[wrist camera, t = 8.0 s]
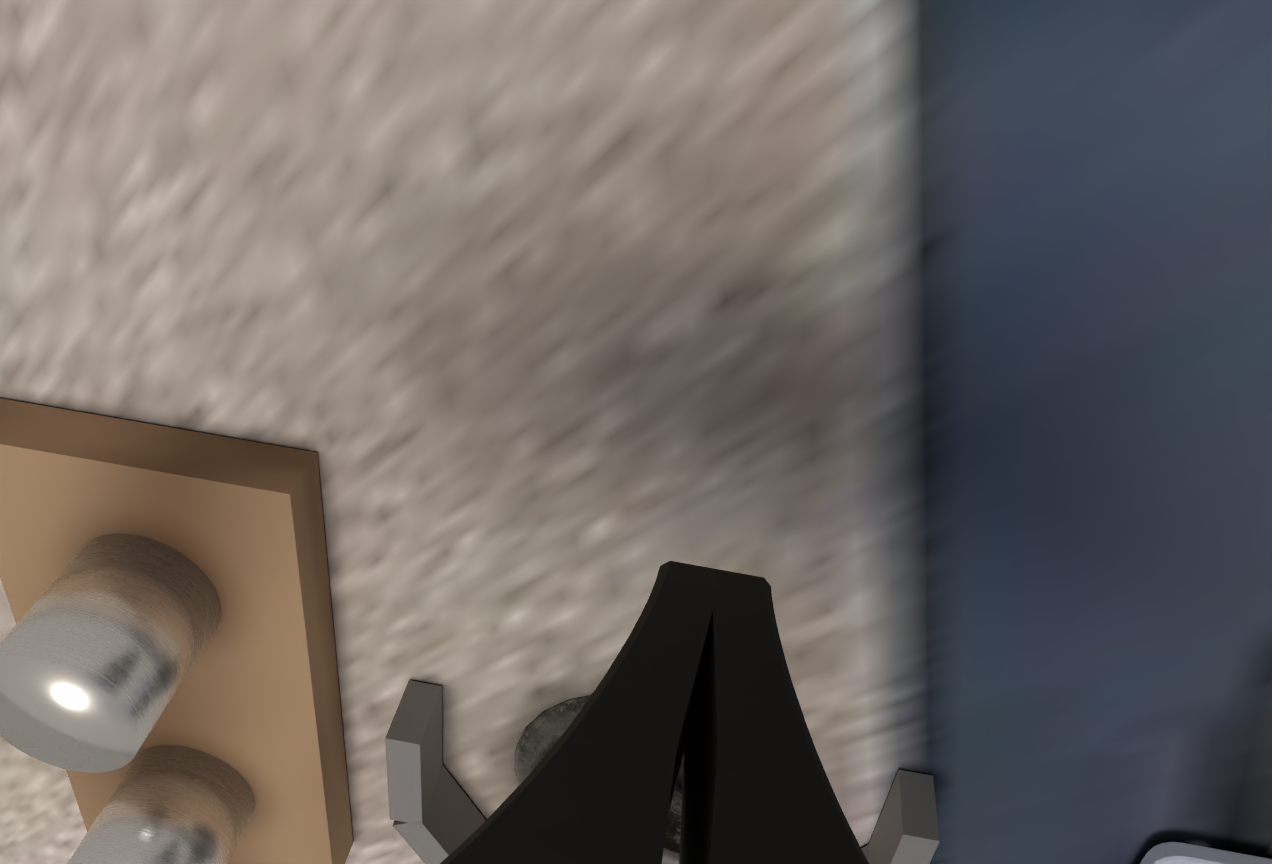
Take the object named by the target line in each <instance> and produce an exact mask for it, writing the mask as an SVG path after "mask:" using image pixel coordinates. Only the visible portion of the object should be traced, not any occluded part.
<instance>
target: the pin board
mask: <svg viewBox="0 0 1272 864" xmlns="http://www.w3.org/2000/svg"><path fill="white" fill-rule="evenodd" d="M0 578H1V581H2V584H3V587H4V590H5V592H6V595H7V598H8V601H9V604H10V607H11V610H12V613H13V616H14V619H15V622H16V626H15V627H14V628H13V629H12V630H11V632H10V633H9V634H8V635H7V636H6V637H5V639H4V640H3V641H2V642H1V643H0V736H1V737H2V738H3V739H4V740H6V741H7V742H9V743H10V744H11V745H13V746H14V747H16V748H17V749H19V750H21V751H22V752H24V753H26V754H28V755H30V756H32V757H34V758H36V759H38V760H40V761H43V762H45V763H48V764H51V765H53V766H57V767H60V768H63V769H66V771H67V774H68V777H69V780H70V782H71V785H72V788H73V791H74V794H75V797H76V800H77V803H78V806H79V809H80V812H81V815H82V818H83V820H84V823H85V826H86V829H87V834H86V835H85V837H84V839H83V840H82V842H81V843H80V845H79V846H78V848H77V850H76V851H75V853H74V854H73V856H72V857H71V859H70V861H69V862H68V864H345V862H346V859H347V857H348V854H349V852H350V849H351V847H352V844H353V835H352V825H351V814H350V803H349V792H348V781H347V770H346V760H345V749H344V738H343V727H342V716H341V705H340V694H339V684H338V673H337V662H336V651H335V640H334V629H333V619H332V608H331V597H330V586H329V575H328V564H327V554H326V543H325V532H324V521H323V510H322V499H321V488H320V478H319V467H318V456H317V453H316V452H311V451H305V450H299V449H293V448H287V447H281V446H276V445H270V444H264V443H258V442H252V441H246V440H241V439H235V438H229V437H223V436H217V435H211V434H206V433H200V432H194V431H188V430H182V429H176V428H171V427H165V426H159V425H153V424H147V423H141V422H136V421H130V420H124V419H118V418H112V417H106V416H101V415H95V414H89V413H83V412H77V411H71V410H66V409H60V408H54V407H48V406H42V405H36V404H31V403H25V402H19V401H13V400H7V399H1V398H0Z"/></svg>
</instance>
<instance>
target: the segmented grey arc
mask: <svg viewBox="0 0 1272 864" xmlns="http://www.w3.org/2000/svg"><path fill="white" fill-rule="evenodd" d="M385 741H386V759H387V776H388V794H389V812H390V819H391V820H395V821H394V823H393V826H394V828H395V829H396V830H397V831H398V832H399V833H400V835H401V836H402V837H403V838H404V839H405V840H406V842H407V843H408V844H409V845H410V846H411V847H412V849H413V850H414V851H415V852H416V853H417V855H418V856H419V857H420V858H421V859H422V860H423V862H424V863H425V864H440V863H441V862H442V861H443V860H444V859H445V858H447V857H448V856H449V855H450V854H451V853H452V852H453V851H454V850H455V849H456V848H458V847H459V846H460V845H461V844H462V843H463V842H464V841H465V840H466V839H468V838H469V837H470V836H471V835H472V834H473V833H474V832H475V831H476V830H477V829H478V828H479V827H480V826H481V825H482V824H483V823H484V822H485V821H486V820H485V818H484V817H483V816H482V815H481V813H480V812H479V811H478V809H477V808H476V807H475V806H474V804H473V803H472V802H471V800H470V799H469V798H468V797H467V795H466V794H465V793H464V791H463V790H462V789H461V788H460V786H459V785H458V784H457V783H456V781H455V780H454V779H453V777H452V776H451V775H450V774H449V772H448V771H447V770H446V768H445V767H444V766H443V763H442V686H438V685H433V684H427V683H422V682H416V681H411V680H409V682H408V684H407V687H406V689H405V692H404V694H403V697H402V699H401V701H400V704H399V706H398V709H397V711H396V714H395V716H394V718H393V721H392V723H391V726H390V728H389V731H388V733H387V735H386V738H385ZM939 842H940V839H939V829H938V819H937V809H936V800H935V790H934V780H933V776H931V775H926V774H920V773H915V772H909V771H904V770H898V772H897V775H896V777H895V780H894V782H893V785H892V787H891V790H890V792H889V795H888V797H887V800H886V802H885V805H884V807H883V810H882V812H881V815H880V817H879V820H878V822H877V825H876V827H875V830H874V832H873V835H872V837H871V840H870V842H869V844H868V845H866V846H865V847H863V848H861V850H862V851H863V853H864V855H865V857H866V859H867V861H868V862H869V864H929V863H930V861H931V859H932V857H933V855H934V852H935V850H936V848H937V846H938V844H939Z"/></svg>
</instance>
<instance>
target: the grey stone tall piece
mask: <svg viewBox="0 0 1272 864" xmlns="http://www.w3.org/2000/svg"><path fill="white" fill-rule="evenodd" d="M589 698H590V696H586V697H581V698H576V699H571V700H567V701H565V702H563V703H561V704H559V705H556V706H554V707H552V708H550V709H548V710H546V711H544V712H542V713H541V714H540V715H539V716H538V717H537V718H536V719H535V720H533V721H532V722H531V723H530V724H529V725H528V726H527V727H526V728H525V730H524V732H523V734H522V736H521V738H520V740H519V742H518V744H517V747H516V752H515V773H516V776H517V778H518V781H519V784H521V783H522V782H523V781H524V780H525V779H526V778H527V776H528V775H529V774H530V773H531V772H532V771H533V770H534V768H535V767H536V766H537V765H538V764H539V763H540V761H541V760H542V759H543V758H544V757H545V756H546V754H547V753H548V752H549V751H550V749H551V748H552V747H553V746H554V745H555V743H556V742H557V741H558V740H559V738H560V737H561V736H562V735H563V733H564V732H565V731H566V729H567V728H568V727H569V726H570V724H571V723H572V722H573V720H574V719H575V717H576V716H577V715H578V713H579V712H580V710H581V709H582V708H583V706H584V705H585V703H586V702H587V701H588V699H589ZM683 765H684V753H683V757H682V761H681V765H680V770H679V774H678V778H677V782H676V786H675V790H674V794H673V798H672V802H671V806H670V811H669V815H668V819H667V826H666V834H665V842H664V850H663V858H662V864H679V854H680V831H681V808H682V786H683Z"/></svg>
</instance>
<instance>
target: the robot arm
mask: <svg viewBox="0 0 1272 864" xmlns="http://www.w3.org/2000/svg"><path fill="white" fill-rule="evenodd" d="M683 753H684V765H683V786H682V808H681V831H680V854H679V864H869V862H868V861H867V859H866V857H865V855H864V853H863V851H862V850H861V848H860V846H859V844H858V842H857V840H856V838H855V836H854V834H853V832H852V830H851V828H850V826H849V824H848V822H847V820H846V818H845V816H844V814H843V811H842V809H841V807H840V805H839V803H838V801H837V798H836V796H835V794H834V792H833V789H832V787H831V785H830V783H829V780H828V778H827V776H826V773H825V771H824V768H823V766H822V763H821V761H820V759H819V756H818V754H817V751H816V749H815V746H814V744H813V741H812V738H811V736H810V733H809V730H808V728H807V725H806V722H805V719H804V717H803V714H802V711H801V708H800V705H799V702H798V699H797V696H796V693H795V690H794V687H793V684H792V681H791V677H790V674H789V671H788V667H787V664H786V660H785V656H784V652H783V649H782V645H781V641H780V637H779V633H778V628H777V624H776V619H775V614H774V608H773V602H772V594H771V586H770V585H769V583H768V582H767V581H766V580H765V578H763V577H757V576H752V575H746V574H740V573H735V572H729V571H724V570H718V569H712V568H707V567H701V566H696V565H690V564H684V563H679V562H673V561H669V562H667V563H665V564H663V565H661V566H660V569H659V572H658V576H657V579H656V582H655V585H654V587H653V590H652V592H651V595H650V597H649V599H648V601H647V603H646V605H645V608H644V610H643V612H642V614H641V615H640V617H639V619H638V621H637V623H636V625H635V627H634V629H633V630H632V632H631V634H630V636H629V638H628V639H627V641H626V643H625V644H624V646H623V647H622V649H621V651H620V652H619V654H618V656H617V657H616V659H615V660H614V662H613V664H612V665H611V667H610V669H609V670H608V672H607V673H606V675H605V676H604V678H603V680H602V681H601V682H600V684H599V685H598V687H597V688H596V690H595V691H594V692H593V694H592V695H591V696H590V698H589V699H588V701H587V702H586V703H585V705H584V706H583V708H582V709H581V710H580V712H579V713H578V715H577V716H576V717H575V719H574V720H573V722H572V723H571V724H570V726H569V727H568V728H567V729H566V731H565V732H564V733H563V735H562V736H561V737H560V738H559V740H558V741H557V742H556V743H555V745H554V746H553V747H552V748H551V749H550V751H549V752H548V753H547V754H546V756H545V757H544V758H543V759H542V760H541V761H540V763H539V764H538V765H537V766H536V767H535V768H534V770H533V771H532V772H531V773H530V774H529V775H528V776H527V778H526V779H525V780H524V781H523V782H522V783H521V784H520V785H519V786H518V787H517V788H516V790H515V791H514V792H513V793H512V794H511V795H510V796H509V797H508V798H507V799H506V800H505V801H504V802H503V803H502V804H501V806H500V807H499V808H498V809H497V810H496V811H495V812H494V813H493V814H492V815H491V816H490V817H489V818H488V819H487V820H486V821H485V822H484V823H483V824H482V825H481V826H480V827H479V828H478V829H477V830H476V831H475V832H474V833H473V834H472V835H471V836H470V837H469V838H468V839H466V840H465V841H464V842H463V843H462V844H461V845H460V846H459V847H458V848H456V849H455V850H454V851H453V852H452V853H451V854H450V855H449V856H448V857H447V858H445V859H444V860H443V861H442V862H441V863H440V864H662V858H663V850H664V842H665V834H666V826H667V819H668V815H669V811H670V806H671V802H672V798H673V794H674V790H675V786H676V782H677V778H678V774H679V770H680V765H681V761H682V757H683ZM1140 864H1272V859H1269V858H1263V857H1258V856H1252V855H1247V854H1241V853H1236V852H1231V851H1225V850H1220V849H1214V848H1209V847H1203V846H1198V845H1192V844H1187V843H1181V842H1166V843H1161V844H1158V845H1156V846H1154V847H1153V848H1152V849H1150V850H1149V851H1148V852H1147V853H1146V855H1145V856H1144V858H1143V859H1142V861H1141V862H1140Z"/></svg>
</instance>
